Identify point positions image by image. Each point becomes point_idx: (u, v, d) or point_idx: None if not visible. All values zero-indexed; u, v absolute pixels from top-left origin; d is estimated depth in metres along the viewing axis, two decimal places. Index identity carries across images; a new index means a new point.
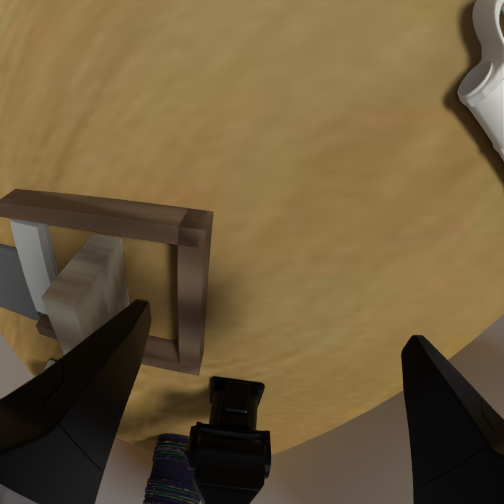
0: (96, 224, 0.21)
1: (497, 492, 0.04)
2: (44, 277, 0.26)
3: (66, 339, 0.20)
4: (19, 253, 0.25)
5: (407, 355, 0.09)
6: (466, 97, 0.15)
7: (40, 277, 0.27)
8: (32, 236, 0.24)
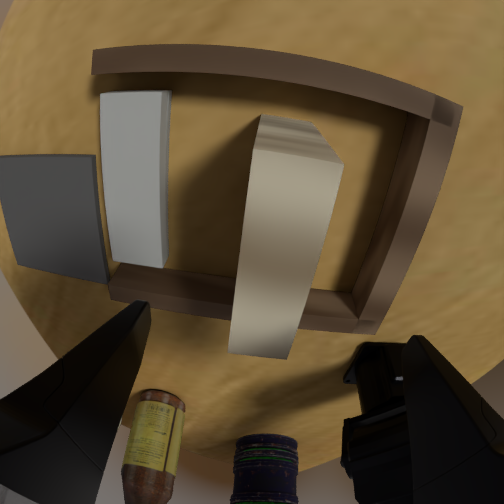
0: (316, 73, 0.13)
1: (497, 492, 0.04)
2: (149, 189, 0.18)
3: (264, 262, 0.12)
4: (104, 151, 0.17)
5: (407, 355, 0.09)
6: None
7: (140, 190, 0.18)
8: (145, 111, 0.15)
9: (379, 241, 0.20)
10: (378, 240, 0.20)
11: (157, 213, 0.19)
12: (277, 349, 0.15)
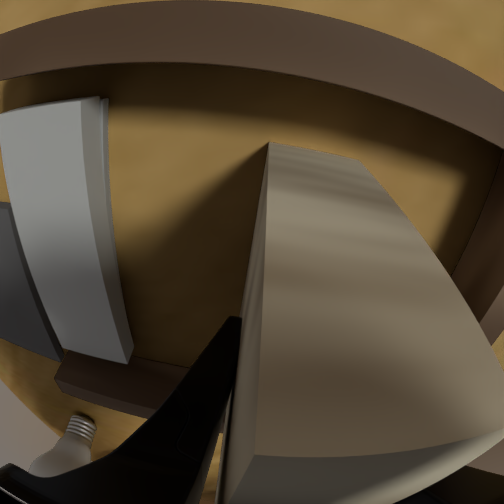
0: (395, 71, 0.05)
1: None
2: (85, 266, 0.10)
3: None
4: (15, 207, 0.09)
5: None
6: None
7: (73, 267, 0.11)
8: (59, 138, 0.08)
9: None
10: None
11: (104, 300, 0.11)
12: None
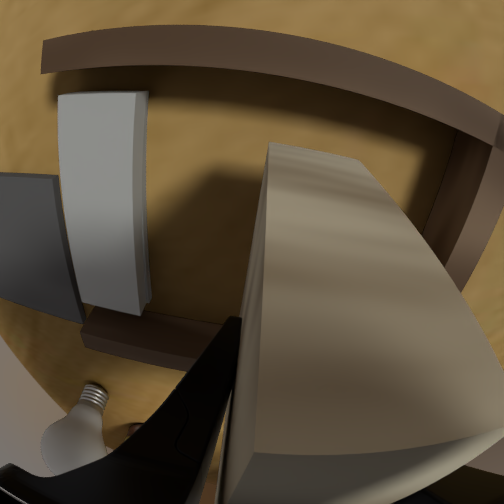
0: (354, 72, 0.09)
1: None
2: (120, 223, 0.14)
3: None
4: (64, 172, 0.12)
5: None
6: None
7: (109, 224, 0.14)
8: (114, 119, 0.11)
9: None
10: None
11: (131, 253, 0.15)
12: None
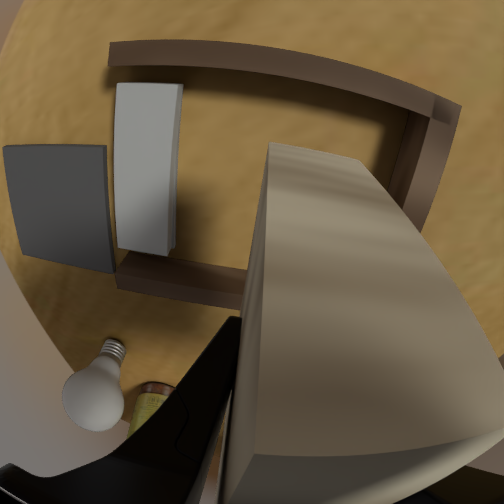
0: (323, 72, 0.14)
1: None
2: (159, 178, 0.19)
3: None
4: (117, 139, 0.17)
5: None
6: None
7: (150, 179, 0.19)
8: (160, 102, 0.16)
9: None
10: None
11: (165, 201, 0.20)
12: None
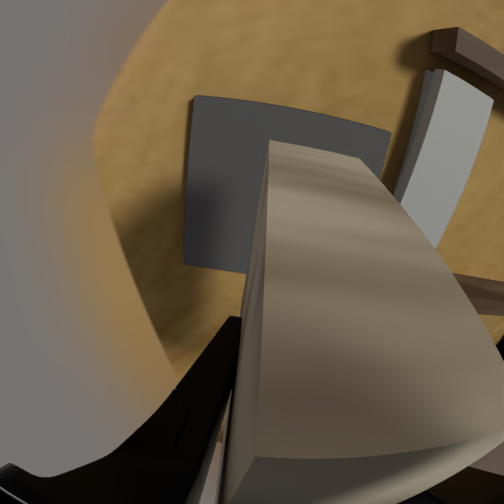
0: None
1: None
2: (456, 183, 0.15)
3: None
4: (431, 130, 0.14)
5: None
6: None
7: (448, 183, 0.15)
8: (479, 110, 0.13)
9: None
10: None
11: (452, 209, 0.16)
12: None
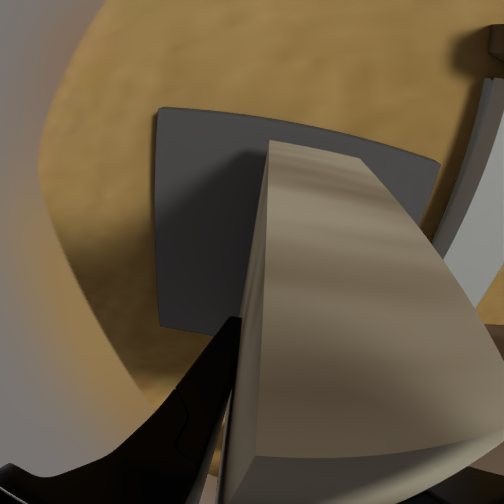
0: None
1: None
2: None
3: None
4: (491, 163, 0.09)
5: None
6: None
7: (502, 231, 0.10)
8: None
9: None
10: None
11: (501, 262, 0.11)
12: None
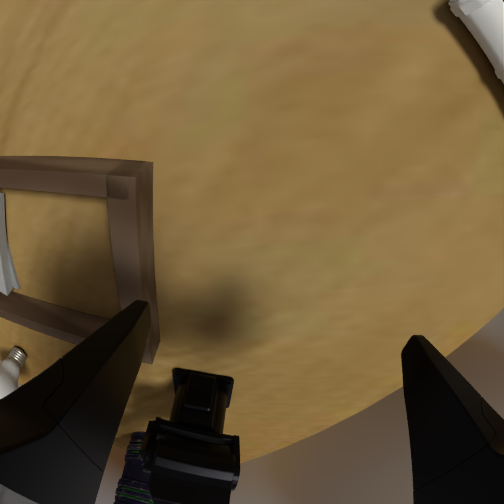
0: (29, 181, 0.17)
1: (497, 492, 0.04)
2: None
3: None
4: None
5: (407, 355, 0.09)
6: (458, 3, 0.10)
7: None
8: None
9: None
10: None
11: (0, 265, 0.23)
12: None
